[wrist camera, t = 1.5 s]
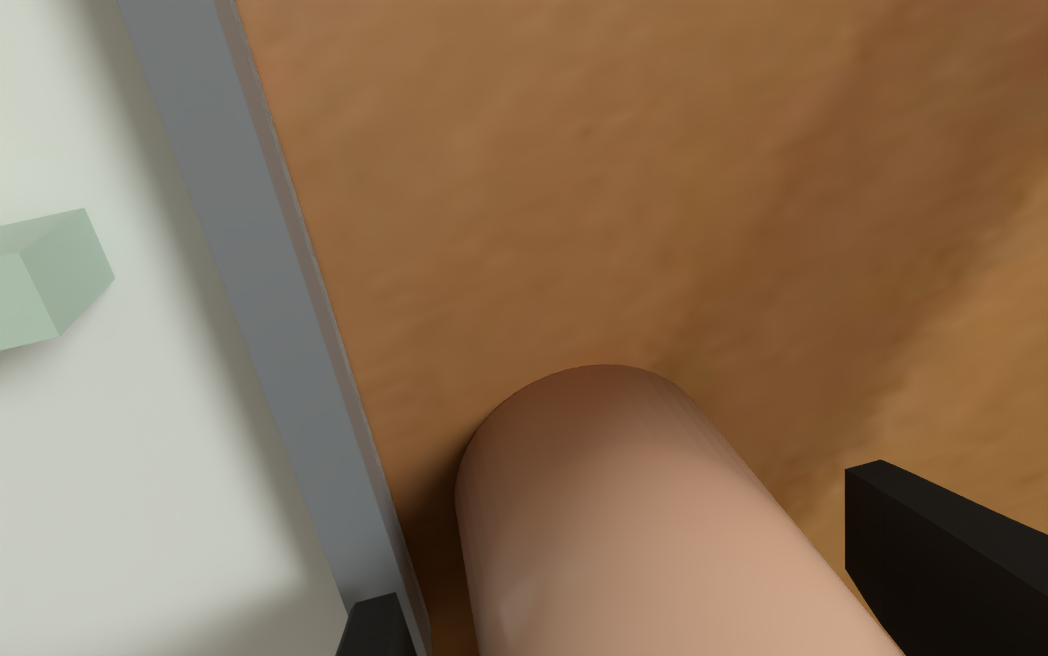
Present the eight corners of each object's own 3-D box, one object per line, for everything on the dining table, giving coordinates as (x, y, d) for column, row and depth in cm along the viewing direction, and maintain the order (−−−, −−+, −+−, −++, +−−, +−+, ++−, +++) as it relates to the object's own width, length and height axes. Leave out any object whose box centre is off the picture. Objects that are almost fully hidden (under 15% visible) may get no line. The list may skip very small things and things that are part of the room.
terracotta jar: (485, 621, 15) (593, 1211, 8) (425, 405, 13) (496, 931, 5) (725, 554, 15) (1045, 1049, 8) (705, 334, 13) (1111, 732, 6)
